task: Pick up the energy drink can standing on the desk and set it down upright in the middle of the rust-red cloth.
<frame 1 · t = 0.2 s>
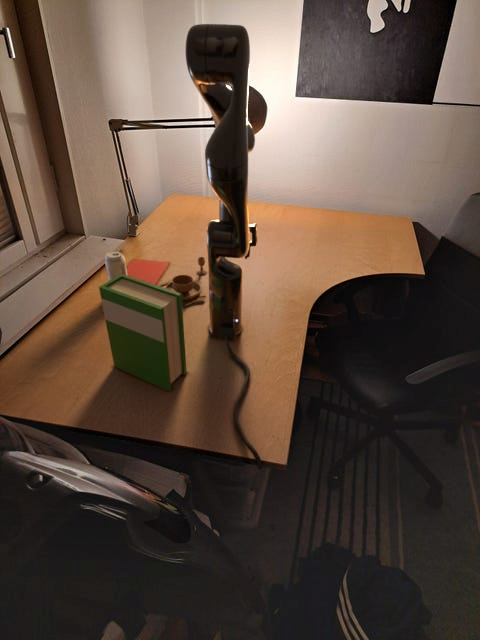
hand: (232, 256, 125), 17 cm above the table, tool pointing down, fingers open, 8 cm apart
energy drink can: (120, 296, 138), on the table
place setting: (192, 288, 143), on the table
cloth: (142, 274, 150), on the table
hardback book: (150, 370, 109), on the table
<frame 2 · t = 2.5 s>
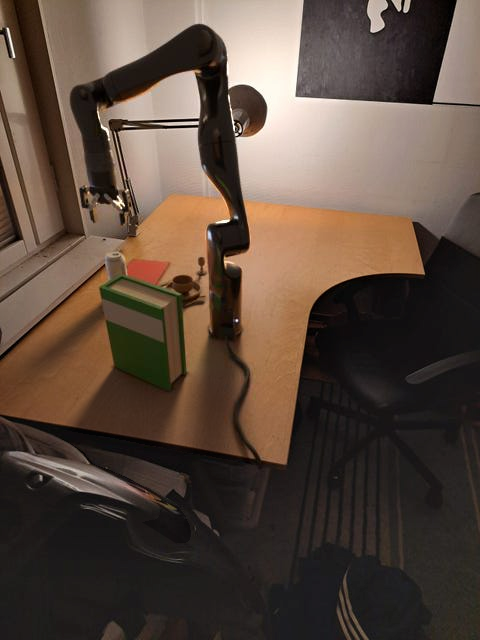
hand: (109, 223, 124), 25 cm above the table, tool pointing down, fingers open, 8 cm apart
nothing on the table moved.
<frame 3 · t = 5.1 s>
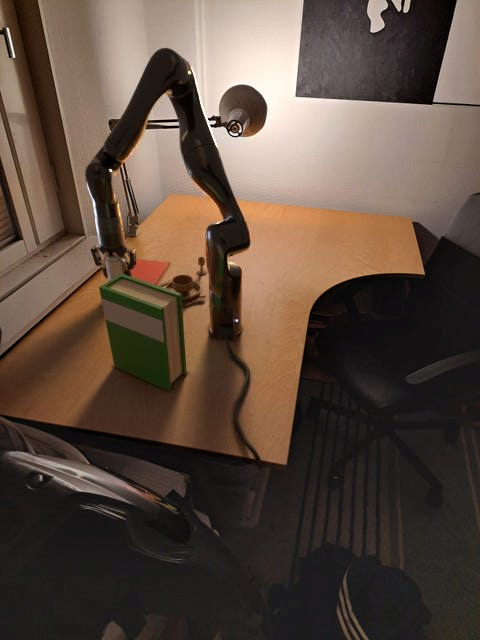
hand: (118, 278, 134), 7 cm above the table, tool pointing down, fingers closed on energy drink can, 6 cm apart
energy drink can: (120, 296, 138), on the table, touching gripper
everything else where it was.
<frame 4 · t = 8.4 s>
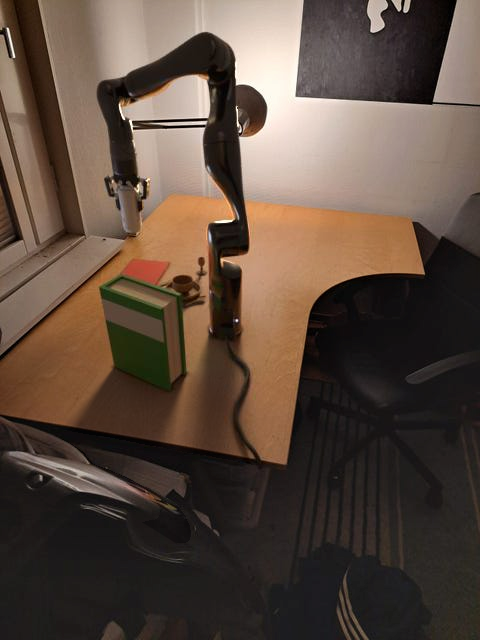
hand: (130, 210, 134), 24 cm above the table, tool pointing down, fingers closed on energy drink can, 6 cm apart
energy drink can: (133, 230, 138), point 17 cm above the table, touching gripper
everything else where it was.
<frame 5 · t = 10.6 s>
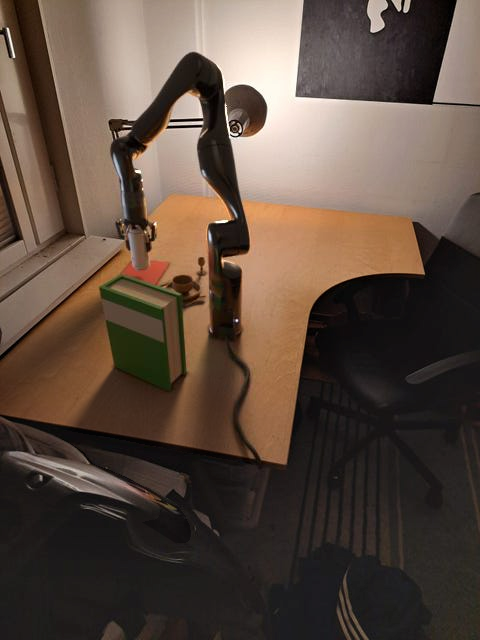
hand: (139, 250, 145), 9 cm above the table, tool pointing down, fingers closed on energy drink can, 6 cm apart
energy drink can: (141, 267, 148), point 3 cm above the table, touching gripper
everything else where it was.
when the fingers open (7 cm above the table, at t = 12.0 s): energy drink can stays where it is, resting on cloth.
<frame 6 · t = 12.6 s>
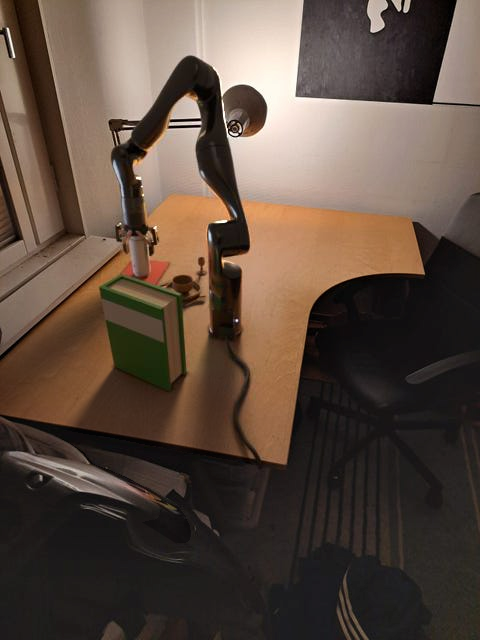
hand: (139, 254, 145), 8 cm above the table, tool pointing down, fingers open, 8 cm apart
energy drink can: (142, 274, 150), resting on cloth
everything else where it was.
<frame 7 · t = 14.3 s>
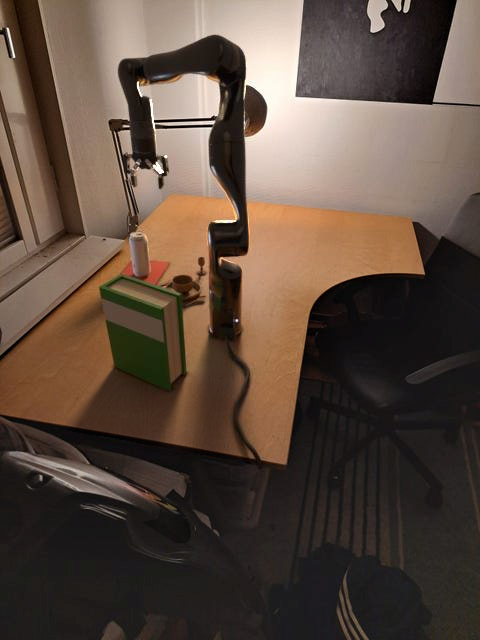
hand: (148, 187, 138), 29 cm above the table, tool pointing down, fingers open, 8 cm apart
nothing on the table moved.
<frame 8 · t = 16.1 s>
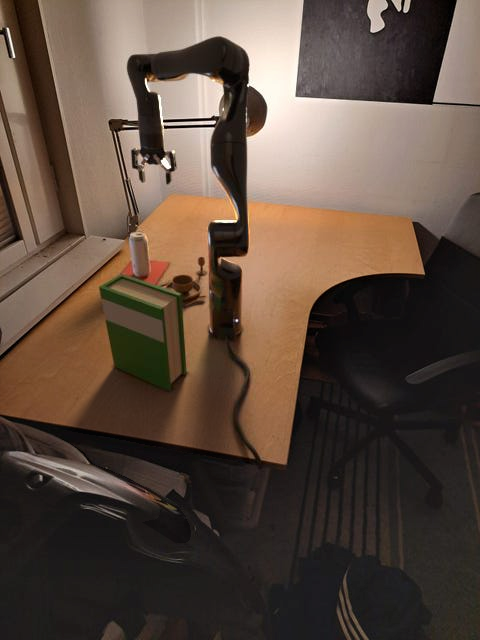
hand: (155, 182, 139), 30 cm above the table, tool pointing down, fingers open, 8 cm apart
nothing on the table moved.
at the end: energy drink can inside the target area on the cloth (0.1 cm from its centre), point 0.1 cm above the cloth's base; energy drink can tilted 0°; energy drink can touching cloth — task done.
